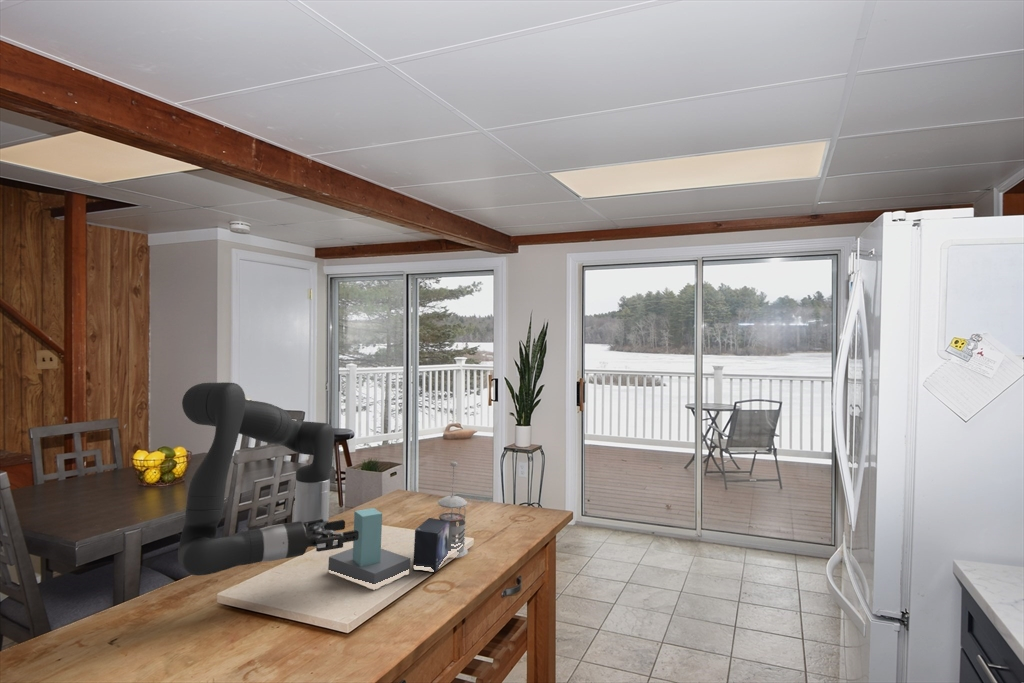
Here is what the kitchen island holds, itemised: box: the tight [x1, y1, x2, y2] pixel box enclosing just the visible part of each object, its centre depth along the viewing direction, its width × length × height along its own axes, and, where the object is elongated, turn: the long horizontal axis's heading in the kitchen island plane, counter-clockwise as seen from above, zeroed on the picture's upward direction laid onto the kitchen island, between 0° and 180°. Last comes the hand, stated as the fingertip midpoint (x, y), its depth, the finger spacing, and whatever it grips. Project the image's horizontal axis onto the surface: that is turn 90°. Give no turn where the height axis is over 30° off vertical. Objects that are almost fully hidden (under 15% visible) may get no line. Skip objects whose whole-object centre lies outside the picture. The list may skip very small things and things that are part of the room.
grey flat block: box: [327, 547, 411, 584], centre depth 147 cm, size 16×12×4 cm
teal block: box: [352, 507, 383, 566], centre depth 145 cm, size 5×5×12 cm
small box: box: [412, 517, 450, 574], centre depth 155 cm, size 11×6×10 cm, turn 168°
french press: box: [437, 461, 469, 559], centre depth 165 cm, size 10×12×25 cm
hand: (351, 529), depth 142 cm, fingers open, 8 cm apart
